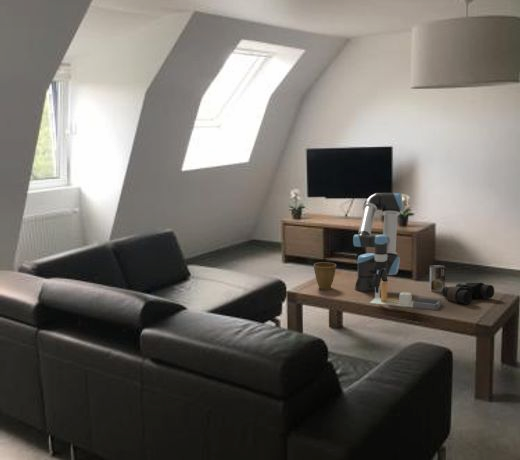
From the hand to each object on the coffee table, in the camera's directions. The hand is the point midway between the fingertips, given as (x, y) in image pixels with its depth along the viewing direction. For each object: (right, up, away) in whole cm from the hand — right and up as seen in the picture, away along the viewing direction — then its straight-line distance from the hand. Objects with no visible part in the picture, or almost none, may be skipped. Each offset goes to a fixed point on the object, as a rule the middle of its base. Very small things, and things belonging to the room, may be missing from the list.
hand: (380, 294), depth 375 cm
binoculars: (+52, -3, +2) cm, 52 cm away
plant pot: (-30, 0, +36) cm, 47 cm away
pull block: (+8, -4, -4) cm, 10 cm away
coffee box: (+41, 0, +23) cm, 47 cm away
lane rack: (+13, -5, -6) cm, 16 cm away
